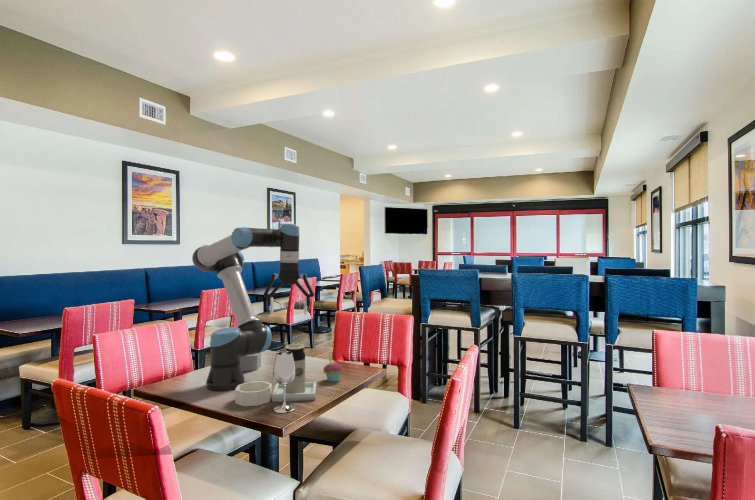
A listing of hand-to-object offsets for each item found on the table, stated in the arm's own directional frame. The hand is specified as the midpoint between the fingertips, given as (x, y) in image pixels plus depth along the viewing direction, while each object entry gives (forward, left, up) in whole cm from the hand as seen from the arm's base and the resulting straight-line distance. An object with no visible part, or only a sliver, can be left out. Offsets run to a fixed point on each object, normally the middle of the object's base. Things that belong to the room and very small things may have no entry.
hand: (288, 314), depth 169 cm
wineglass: (+1, -22, -31) cm, 38 cm away
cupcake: (+18, +10, -31) cm, 37 cm away
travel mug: (+3, -7, -30) cm, 31 cm away
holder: (-12, -11, -31) cm, 35 cm away
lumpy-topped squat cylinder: (-24, +33, -31) cm, 51 cm away
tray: (+3, -7, -31) cm, 32 cm away
